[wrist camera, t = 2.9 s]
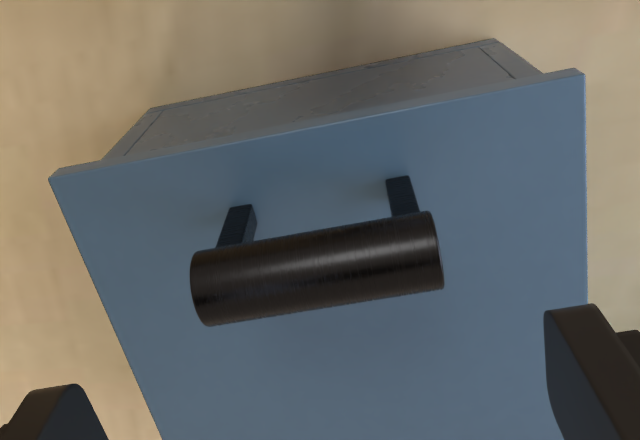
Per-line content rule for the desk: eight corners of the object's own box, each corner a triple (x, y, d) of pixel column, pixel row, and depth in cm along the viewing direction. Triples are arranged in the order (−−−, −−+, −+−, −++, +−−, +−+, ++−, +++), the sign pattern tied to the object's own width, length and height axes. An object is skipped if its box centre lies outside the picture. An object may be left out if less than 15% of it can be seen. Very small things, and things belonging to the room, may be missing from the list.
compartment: (149, 108, 26) (68, 191, 18) (495, 37, 24) (574, 95, 17) (243, 385, 33) (215, 534, 25) (518, 344, 31) (582, 489, 23)
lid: (57, 168, 18) (-45, 261, 13) (575, 67, 16) (678, 130, 11) (215, 535, 25) (187, 683, 20) (582, 490, 23) (648, 639, 19)
